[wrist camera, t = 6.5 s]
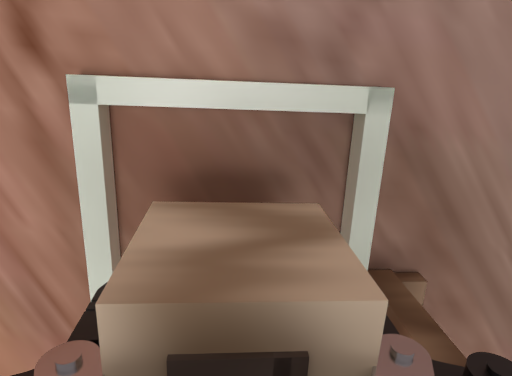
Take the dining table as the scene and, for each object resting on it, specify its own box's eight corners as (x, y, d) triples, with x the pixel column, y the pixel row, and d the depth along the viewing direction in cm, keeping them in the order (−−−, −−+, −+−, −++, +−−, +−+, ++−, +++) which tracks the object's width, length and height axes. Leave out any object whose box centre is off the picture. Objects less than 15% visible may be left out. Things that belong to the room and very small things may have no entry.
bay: (381, 86, 18) (394, 87, 16) (351, 299, 22) (360, 315, 20) (79, 74, 17) (65, 74, 15) (102, 302, 20) (92, 319, 19)
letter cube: (318, 203, 12) (392, 305, 7) (304, 338, 14) (355, 505, 9) (152, 201, 12) (91, 309, 6) (159, 341, 13) (115, 520, 8)
